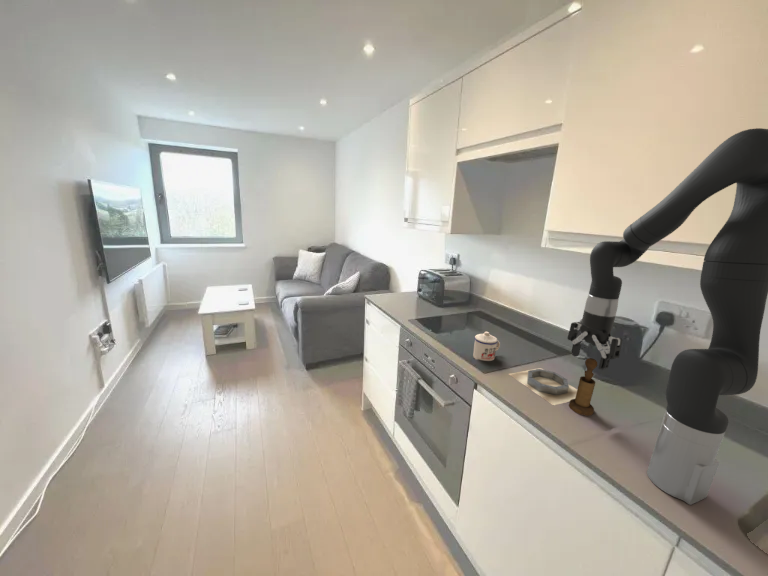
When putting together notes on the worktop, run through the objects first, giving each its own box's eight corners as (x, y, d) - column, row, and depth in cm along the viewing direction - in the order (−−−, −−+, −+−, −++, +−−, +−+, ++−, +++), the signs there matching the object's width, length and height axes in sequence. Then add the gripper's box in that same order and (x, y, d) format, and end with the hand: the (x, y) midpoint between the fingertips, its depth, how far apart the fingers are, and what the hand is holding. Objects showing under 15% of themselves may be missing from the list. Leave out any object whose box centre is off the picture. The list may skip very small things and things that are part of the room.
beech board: (588, 399, 102) (589, 396, 102) (552, 408, 96) (553, 405, 96) (540, 370, 120) (540, 367, 120) (507, 376, 114) (508, 373, 114)
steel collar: (575, 391, 104) (576, 384, 104) (547, 397, 100) (549, 390, 99) (545, 373, 116) (546, 367, 115) (519, 378, 111) (520, 372, 111)
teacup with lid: (481, 364, 123) (485, 337, 120) (468, 354, 131) (470, 329, 128) (505, 360, 127) (509, 334, 124) (490, 351, 135) (493, 326, 132)
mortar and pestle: (591, 421, 91) (604, 366, 86) (566, 412, 94) (578, 359, 90) (593, 410, 96) (605, 358, 91) (569, 402, 100) (580, 352, 95)
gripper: (635, 318, 83) (621, 372, 87) (585, 302, 96) (575, 350, 100) (616, 320, 80) (602, 376, 84) (568, 304, 93) (558, 353, 97)
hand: (588, 361), depth 92 cm, fingers open, 8 cm apart
